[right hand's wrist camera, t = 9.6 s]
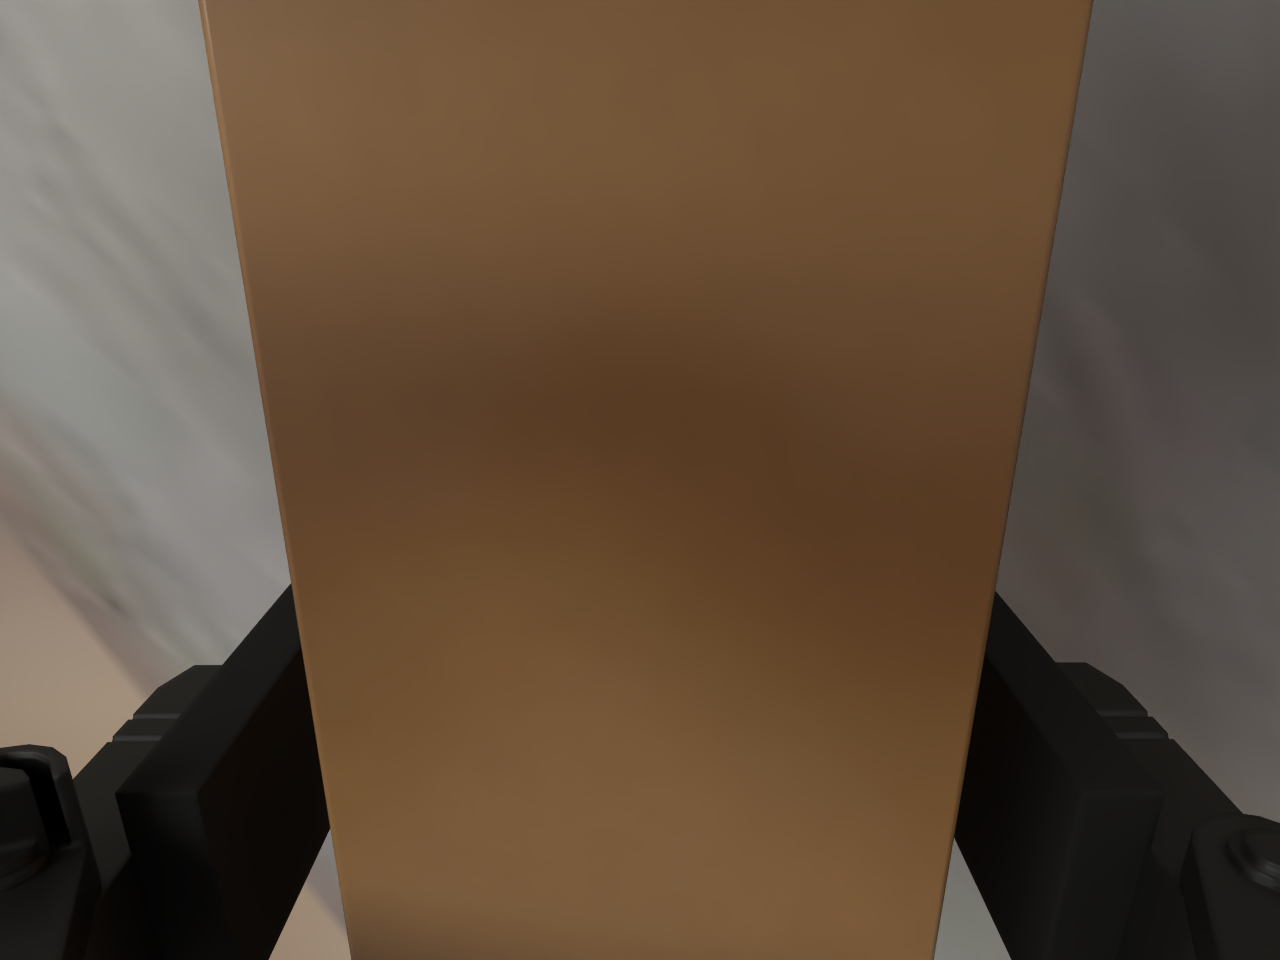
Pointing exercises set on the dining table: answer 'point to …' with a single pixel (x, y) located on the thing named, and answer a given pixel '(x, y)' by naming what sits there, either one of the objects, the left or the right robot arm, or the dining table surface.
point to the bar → (644, 446)
